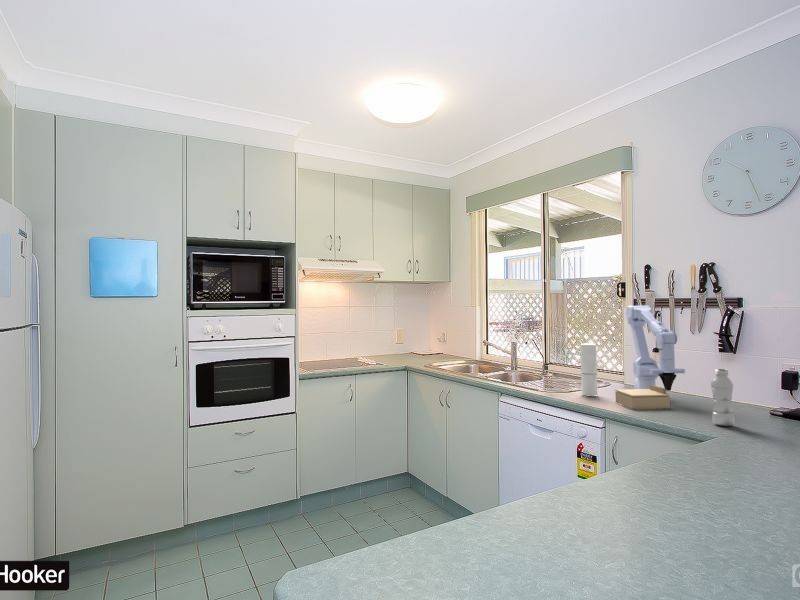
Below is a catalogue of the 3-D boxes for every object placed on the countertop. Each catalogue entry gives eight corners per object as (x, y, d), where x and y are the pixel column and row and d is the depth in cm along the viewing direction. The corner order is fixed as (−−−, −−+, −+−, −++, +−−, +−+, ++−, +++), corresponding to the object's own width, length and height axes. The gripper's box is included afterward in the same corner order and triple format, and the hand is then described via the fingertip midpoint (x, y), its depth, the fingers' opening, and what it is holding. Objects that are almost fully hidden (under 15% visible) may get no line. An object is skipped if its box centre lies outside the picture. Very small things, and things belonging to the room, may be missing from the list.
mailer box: (615, 402, 205) (615, 391, 205) (650, 401, 205) (650, 390, 205) (632, 409, 191) (631, 397, 191) (669, 408, 191) (669, 396, 191)
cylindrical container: (594, 394, 226) (593, 343, 226) (599, 396, 219) (598, 344, 219) (579, 394, 226) (578, 343, 227) (584, 396, 219) (582, 344, 220)
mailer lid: (615, 390, 205) (615, 385, 205) (650, 390, 205) (650, 384, 205) (631, 396, 191) (631, 390, 191) (669, 396, 191) (669, 389, 191)
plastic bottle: (738, 428, 159) (737, 371, 160) (717, 427, 161) (715, 370, 161) (729, 423, 166) (727, 368, 166) (708, 423, 167) (707, 368, 167)
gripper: (655, 360, 194) (656, 392, 194) (689, 359, 195) (690, 391, 194) (646, 358, 201) (647, 389, 201) (678, 358, 202) (679, 388, 201)
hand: (667, 390), depth 198 cm, fingers closed
